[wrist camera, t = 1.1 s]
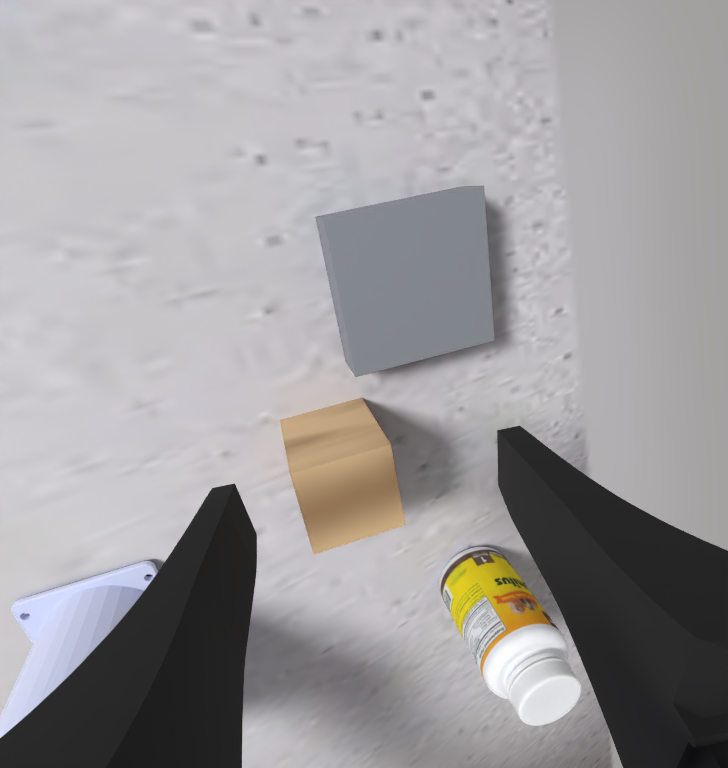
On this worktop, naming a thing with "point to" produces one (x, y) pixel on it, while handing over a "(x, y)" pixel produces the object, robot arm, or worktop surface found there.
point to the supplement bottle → (509, 635)
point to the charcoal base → (409, 277)
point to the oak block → (342, 474)
